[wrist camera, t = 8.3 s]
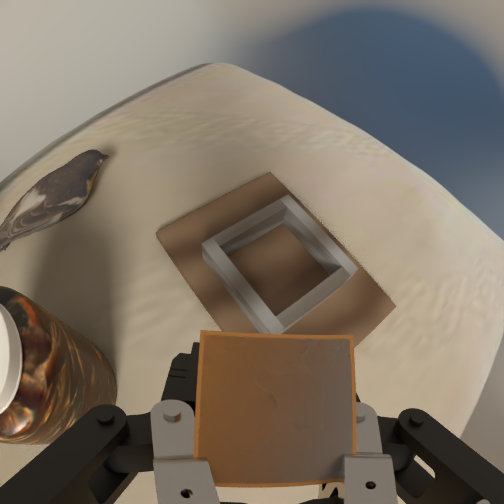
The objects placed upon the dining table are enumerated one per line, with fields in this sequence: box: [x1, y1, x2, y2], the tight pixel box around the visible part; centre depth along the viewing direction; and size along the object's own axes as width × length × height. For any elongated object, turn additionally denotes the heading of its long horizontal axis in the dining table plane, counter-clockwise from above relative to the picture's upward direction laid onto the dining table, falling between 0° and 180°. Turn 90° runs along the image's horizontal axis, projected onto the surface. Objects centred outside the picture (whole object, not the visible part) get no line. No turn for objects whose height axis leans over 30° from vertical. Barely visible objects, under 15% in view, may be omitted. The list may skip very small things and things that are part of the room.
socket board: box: [156, 172, 396, 348], centre depth 31 cm, size 22×16×4 cm
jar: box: [0, 286, 116, 445], centre depth 18 cm, size 12×12×15 cm
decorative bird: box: [0, 150, 110, 251], centre depth 31 cm, size 6×25×5 cm, turn 142°
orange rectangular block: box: [194, 330, 357, 487], centre depth 11 cm, size 5×4×10 cm
